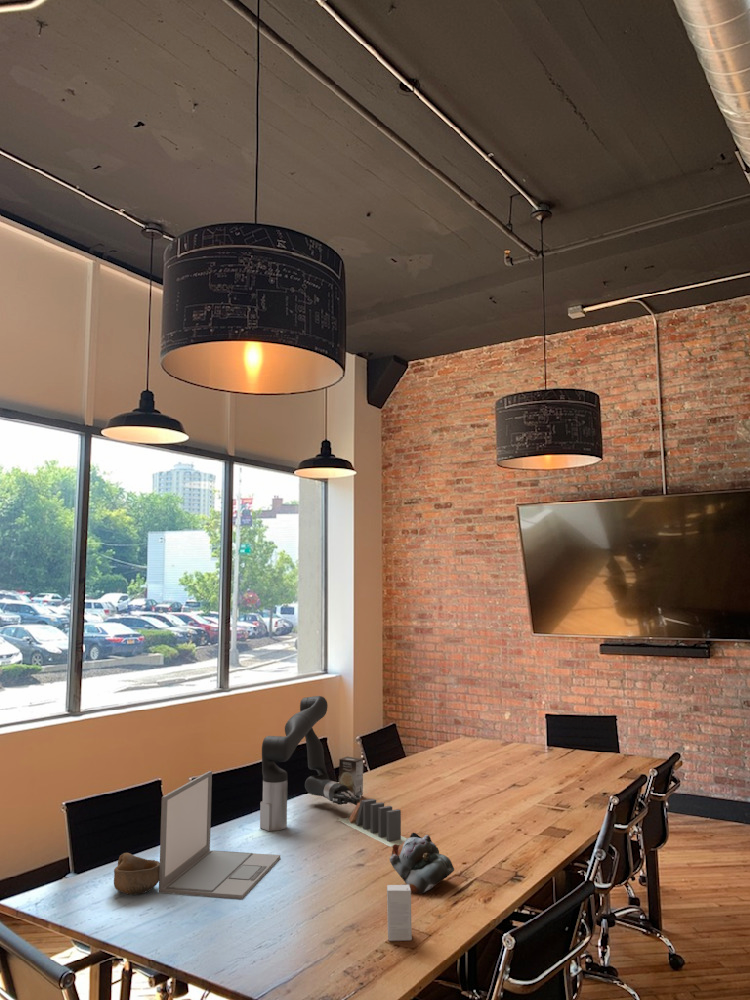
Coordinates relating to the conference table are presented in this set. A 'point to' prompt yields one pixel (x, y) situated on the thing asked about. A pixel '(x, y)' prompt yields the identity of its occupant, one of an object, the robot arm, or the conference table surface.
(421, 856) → the lucky cat figurine
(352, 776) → the coffee box
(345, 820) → the strip
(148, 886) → the bowl
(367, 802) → the domino
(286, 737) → the robot arm
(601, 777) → the conference table surface
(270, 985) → the conference table surface
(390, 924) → the skincare box
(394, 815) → the domino
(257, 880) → the laptop
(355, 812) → the domino
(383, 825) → the domino
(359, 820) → the domino
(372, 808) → the domino
